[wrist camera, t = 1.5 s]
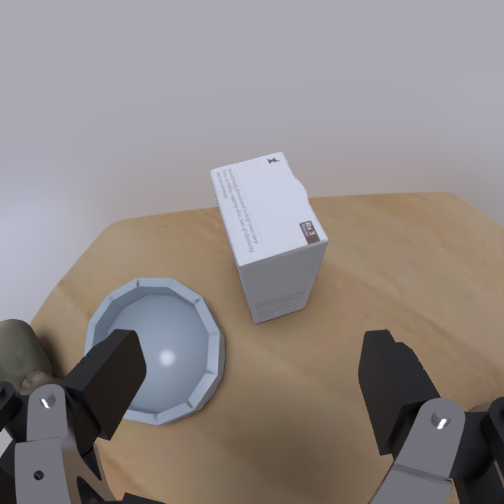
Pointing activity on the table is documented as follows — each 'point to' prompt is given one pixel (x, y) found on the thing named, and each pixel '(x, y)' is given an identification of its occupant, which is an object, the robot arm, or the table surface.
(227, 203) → the skincare box
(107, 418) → the robot arm
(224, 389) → the table surface
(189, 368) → the bowl
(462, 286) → the table surface
